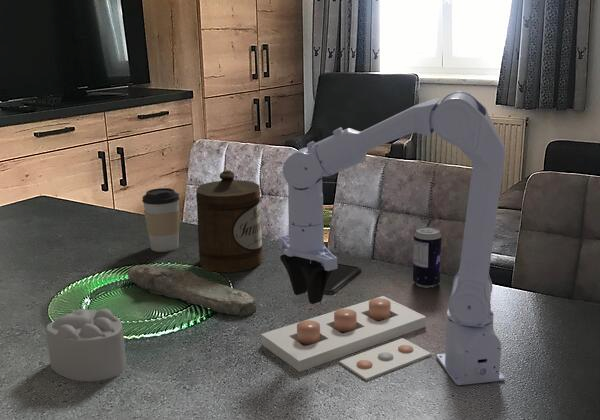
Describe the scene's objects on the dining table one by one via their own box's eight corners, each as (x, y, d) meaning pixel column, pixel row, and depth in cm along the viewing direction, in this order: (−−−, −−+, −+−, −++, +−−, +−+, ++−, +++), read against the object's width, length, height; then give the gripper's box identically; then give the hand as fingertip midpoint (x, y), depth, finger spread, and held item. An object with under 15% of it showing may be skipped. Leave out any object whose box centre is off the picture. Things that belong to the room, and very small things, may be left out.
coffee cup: (143, 245, 174) (137, 188, 170) (177, 239, 178) (173, 183, 174) (151, 255, 166) (146, 196, 162) (187, 249, 170) (183, 191, 166)
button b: (347, 319, 125) (347, 307, 124) (361, 327, 122) (361, 314, 121) (329, 325, 123) (329, 312, 122) (343, 333, 120) (343, 320, 119)
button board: (383, 305, 135) (383, 295, 135) (425, 326, 125) (426, 316, 125) (261, 344, 120) (261, 334, 120) (299, 372, 111) (299, 361, 110)
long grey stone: (235, 331, 129) (268, 315, 137) (235, 305, 128) (269, 290, 136) (114, 283, 149) (149, 271, 157) (114, 260, 147) (149, 250, 155)
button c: (311, 331, 121) (311, 318, 120) (324, 339, 118) (324, 326, 117) (292, 337, 119) (292, 324, 118) (305, 346, 115) (305, 332, 115)
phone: (362, 267, 153) (332, 291, 141) (362, 272, 153) (332, 296, 141) (331, 262, 157) (299, 284, 144) (331, 267, 157) (299, 289, 145)
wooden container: (255, 274, 153) (251, 178, 147) (191, 271, 155) (185, 177, 149) (268, 252, 167) (265, 164, 161) (210, 250, 169) (204, 163, 163)
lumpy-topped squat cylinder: (93, 342, 123) (87, 298, 120) (142, 362, 115) (137, 315, 113) (42, 366, 115) (35, 319, 112) (91, 389, 107) (85, 339, 105)
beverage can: (439, 290, 142) (441, 235, 138) (412, 288, 143) (413, 234, 140) (439, 279, 147) (441, 226, 144) (413, 278, 148) (414, 225, 145)
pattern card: (402, 340, 121) (402, 337, 120) (430, 355, 115) (430, 352, 115) (339, 363, 113) (339, 359, 113) (366, 380, 108) (366, 377, 107)
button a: (380, 308, 129) (380, 296, 129) (394, 316, 126) (395, 303, 125) (364, 314, 127) (364, 301, 126) (378, 321, 124) (378, 309, 123)
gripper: (262, 215, 116) (265, 289, 120) (311, 237, 104) (312, 318, 108) (297, 208, 120) (299, 280, 123) (347, 228, 108) (348, 307, 112)
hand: (307, 297), depth 116 cm, fingers open, 4 cm apart
